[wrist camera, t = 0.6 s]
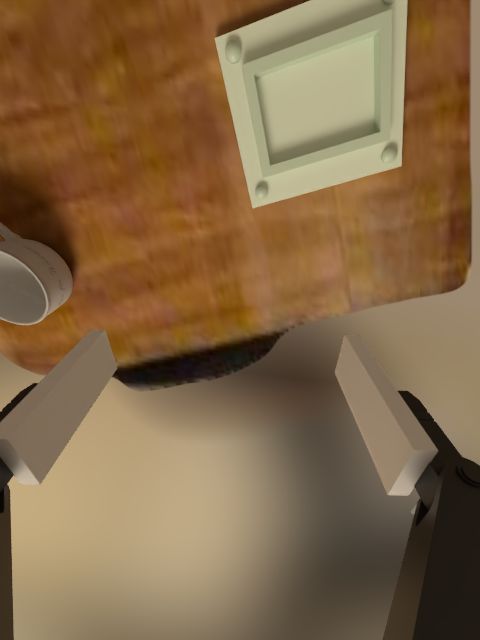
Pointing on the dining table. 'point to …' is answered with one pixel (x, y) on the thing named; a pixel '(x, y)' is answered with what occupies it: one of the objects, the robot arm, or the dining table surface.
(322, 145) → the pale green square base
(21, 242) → the teacup
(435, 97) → the dining table surface
